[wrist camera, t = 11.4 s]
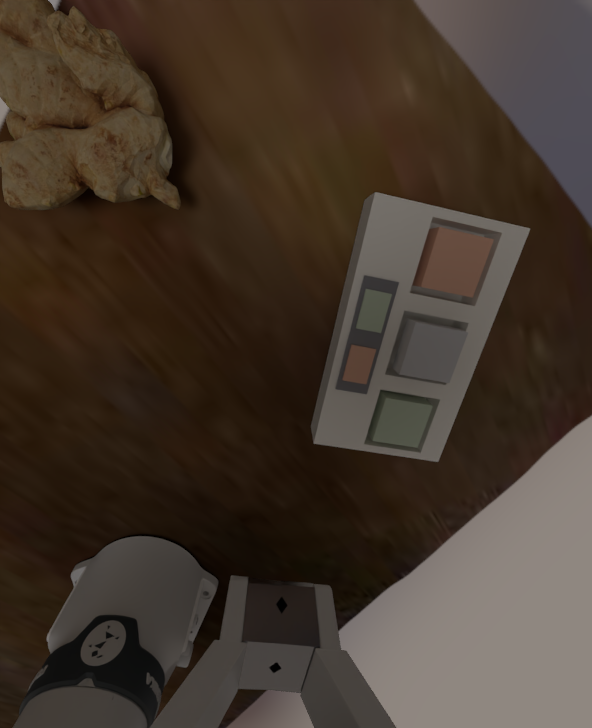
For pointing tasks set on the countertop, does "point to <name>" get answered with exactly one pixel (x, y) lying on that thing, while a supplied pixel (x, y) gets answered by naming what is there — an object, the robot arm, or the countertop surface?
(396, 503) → the countertop surface
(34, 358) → the countertop surface
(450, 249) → the terracotta key
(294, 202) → the countertop surface
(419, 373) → the grey key
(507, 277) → the keypad
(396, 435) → the sage key
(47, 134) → the ginger root
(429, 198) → the countertop surface
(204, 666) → the robot arm
